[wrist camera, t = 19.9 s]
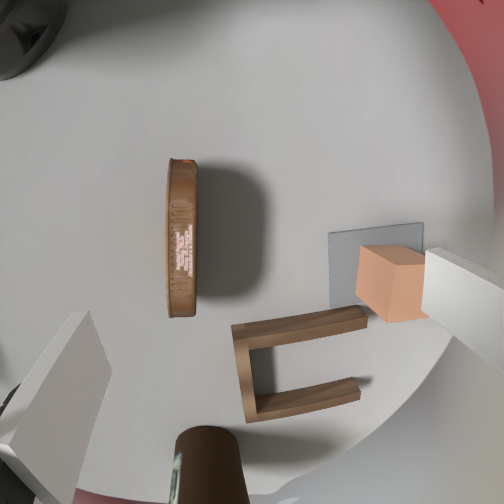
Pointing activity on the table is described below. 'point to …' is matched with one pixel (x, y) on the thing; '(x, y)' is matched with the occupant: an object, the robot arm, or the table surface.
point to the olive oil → (207, 468)
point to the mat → (348, 253)
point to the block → (391, 282)
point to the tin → (181, 237)
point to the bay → (286, 333)
